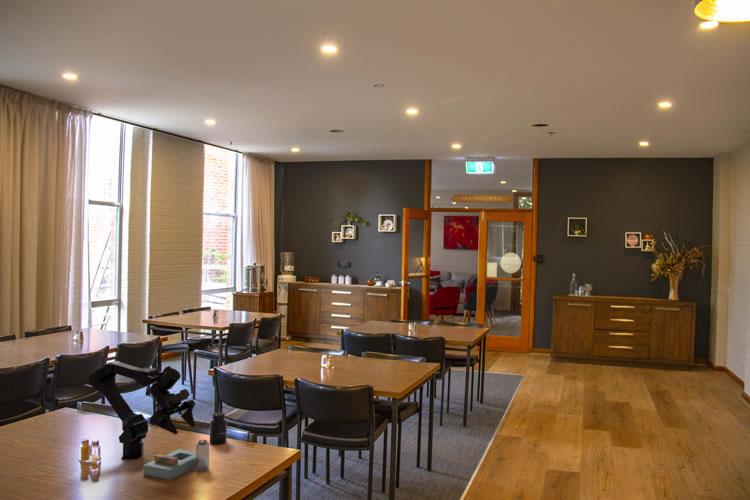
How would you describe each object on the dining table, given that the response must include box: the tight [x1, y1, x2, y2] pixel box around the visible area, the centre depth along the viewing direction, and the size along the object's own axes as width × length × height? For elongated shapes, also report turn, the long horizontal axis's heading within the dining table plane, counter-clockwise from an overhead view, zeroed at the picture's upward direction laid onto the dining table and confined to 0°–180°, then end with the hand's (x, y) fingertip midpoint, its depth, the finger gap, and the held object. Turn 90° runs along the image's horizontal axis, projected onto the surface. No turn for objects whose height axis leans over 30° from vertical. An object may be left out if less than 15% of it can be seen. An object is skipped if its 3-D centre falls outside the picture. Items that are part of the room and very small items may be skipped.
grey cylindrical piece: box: [195, 439, 210, 474], centre depth 206 cm, size 5×5×10 cm
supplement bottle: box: [209, 412, 228, 446], centre depth 235 cm, size 7×7×12 cm
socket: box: [143, 448, 196, 481], centre depth 207 cm, size 12×18×4 cm, turn 157°
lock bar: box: [153, 453, 178, 465], centre depth 202 cm, size 9×2×2 cm, turn 67°
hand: (185, 430), depth 209 cm, fingers open, 9 cm apart
